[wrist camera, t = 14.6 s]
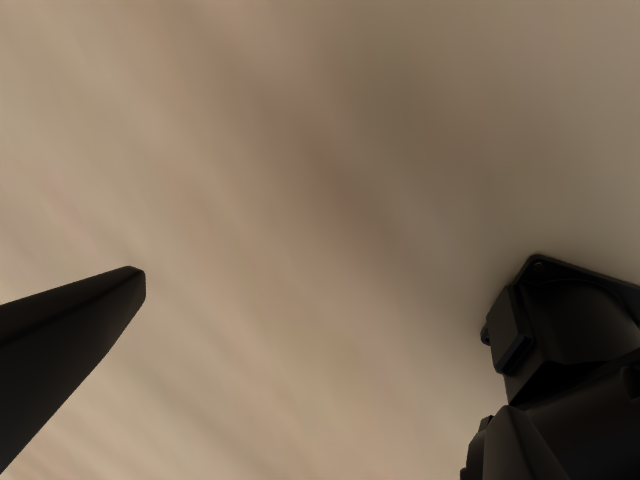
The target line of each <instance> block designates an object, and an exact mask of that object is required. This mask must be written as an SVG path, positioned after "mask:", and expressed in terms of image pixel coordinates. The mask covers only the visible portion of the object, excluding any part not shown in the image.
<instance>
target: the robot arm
mask: <svg viewBox="0 0 640 480" xmlns="http://www.w3.org/2000/svg"><path fill="white" fill-rule="evenodd" d="M538 262H539V263H542V265H541V266H538V267H535V266H534V264H535V263H538ZM145 298H146V278H145V273H144V271H143V270H140V269H138V268H135V267H132V266H124V267H121V268H118V269H115V270H111V271H108V272H105V273H102V274H99V275H95V276H92V277H89V278H86V279H83V280H79V281H76V282H73V283H70V284H67V285H63V286H60V287H57V288H54V289H50V290H47V291H44V292H41V293H38V294H34V295H31V296H28V297H25V298H22V299H18V300H15V301H12V302H9V303H5V304H2V305H0V474H1V473H2V472H3V471H4V470H5V469H6V468H7V467H8V465H9V464H10V463H11V462H12V461H13V460H14V459H15V457H16V456H17V455H18V454H19V453H20V452H21V451H22V450H23V448H24V447H25V446H26V445H27V444H28V443H29V442H30V441H31V439H32V438H33V437H34V436H35V435H36V434H37V433H38V431H39V430H40V429H41V428H42V427H43V426H44V425H45V424H46V422H47V421H48V420H49V419H50V418H51V417H52V416H53V415H54V413H55V412H56V411H57V410H58V409H59V408H60V407H61V405H62V404H63V403H64V402H65V401H66V400H67V399H68V398H69V396H70V395H71V394H72V393H73V392H74V391H75V390H76V389H77V387H78V386H79V385H80V384H81V383H82V382H83V381H84V379H85V378H86V377H87V376H88V375H89V374H90V373H91V372H92V370H93V369H94V368H95V367H96V366H97V365H98V364H99V363H100V361H101V360H102V359H103V358H104V357H105V355H106V354H107V353H108V352H109V350H110V349H111V348H112V346H113V345H114V344H115V342H116V341H117V339H118V338H119V337H120V335H121V334H122V332H123V331H124V330H125V328H126V327H127V325H128V324H129V323H130V321H131V320H132V318H133V317H134V316H135V314H136V313H137V311H138V310H139V309H140V307H141V306H142V304H143V303H144V301H145ZM486 321H487V323H486V325H485V326H484V328H483V329H482V331H481V333H480V336H481V341H482V342H483V343H484V344H486V345H488V346H491V353H492V359H493V365H494V368H495V370H496V372H497V373H499V374H502V375H503V377H504V382H505V388H506V393H507V399H508V404H509V405H504V406H503V407H502V408H501V409H500V410H499V411H498V412H497V414H496V415H495V416H492V415H490V416H488V417H486V418H483V419H482V420H481V423H480V427H479V430H478V433H476V435H475V436H474V438H473V439H472V441H471V442H470V444H469V447H468V454H467V461H466V467H465V468H462V469H461V470H460V480H640V287H639V286H636V285H633V284H630V283H627V282H624V281H621V280H617V279H614V278H611V277H608V276H605V275H602V274H599V273H596V272H593V271H590V270H587V269H584V268H581V267H578V266H574V265H571V264H568V263H565V262H562V261H559V260H556V259H553V258H550V257H547V256H544V255H539V254H537V255H533V256H531V257H529V258H528V260H527V261H526V263H525V264H524V266H523V267H522V269H521V270H520V272H519V273H518V275H517V277H516V278H515V280H514V281H513V283H512V284H509V285H507V286H505V288H504V289H503V291H502V293H501V294H500V296H499V297H498V299H497V300H496V302H495V304H494V305H493V307H492V308H491V310H490V311H489V313H488V315H487V316H486ZM487 336H489V338H488V337H487Z"/></svg>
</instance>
